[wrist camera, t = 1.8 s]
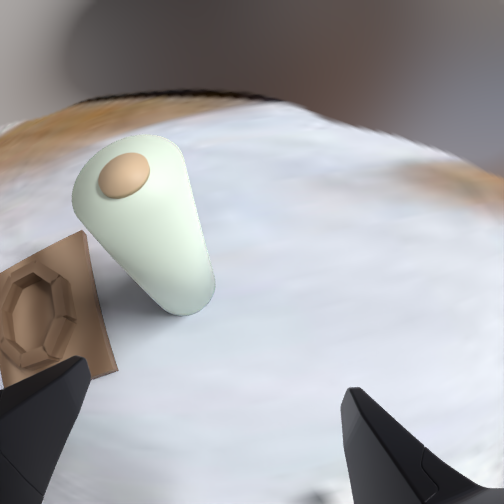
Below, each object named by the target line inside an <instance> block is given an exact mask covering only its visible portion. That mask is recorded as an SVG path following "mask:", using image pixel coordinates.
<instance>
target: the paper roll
mask: <svg viewBox="0 0 504 504" xmlns="http://www.w3.org/2000/svg"><path fill="white" fill-rule="evenodd" d="M72 206H73V209H74V212H75V214H76V216H77V217H78V219H79V220H80V221H81V222H82V223H83V225H84V226H85V227H86V228H87V229H88V231H89V232H90V233H91V234H92V235H93V236H94V237H95V239H96V240H97V241H98V242H99V243H100V244H101V245H102V246H103V248H104V249H105V250H106V251H107V252H108V253H109V254H110V255H111V256H112V258H113V259H114V260H115V261H116V262H117V263H118V264H119V265H120V266H121V267H122V268H123V269H124V270H125V271H126V272H127V274H128V275H129V276H130V277H131V278H132V279H133V280H134V281H135V282H136V283H137V284H138V285H139V286H140V287H141V288H142V289H143V290H144V291H145V292H146V293H147V294H148V295H149V296H150V297H151V298H152V299H153V300H154V301H155V302H156V303H157V304H158V305H159V306H160V307H161V308H162V309H164V310H165V311H167V312H169V313H171V314H173V315H178V316H186V315H191V314H194V313H196V312H198V311H200V310H202V309H203V308H204V307H205V306H206V305H207V304H208V303H209V301H210V300H211V298H212V296H213V294H214V290H215V277H214V273H213V269H212V266H211V262H210V259H209V255H208V251H207V248H206V244H205V240H204V237H203V233H202V229H201V225H200V221H199V218H198V214H197V210H196V206H195V202H194V198H193V194H192V190H191V186H190V182H189V178H188V174H187V170H186V165H185V161H184V158H183V155H182V153H181V151H180V149H179V148H178V147H177V146H176V145H175V144H174V143H173V142H172V141H170V140H168V139H166V138H164V137H160V136H156V135H135V136H130V137H126V138H123V139H121V140H118V141H116V142H114V143H111V144H110V145H108V146H106V147H105V148H103V149H102V150H100V151H99V152H98V153H96V154H95V155H94V156H93V157H92V158H91V159H90V160H89V161H88V162H87V163H86V164H85V166H84V167H83V168H82V170H81V171H80V173H79V175H78V177H77V179H76V181H75V184H74V187H73V191H72Z"/></svg>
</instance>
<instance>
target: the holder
mask: <svg viewBox="0 0 504 504" xmlns="http://www.w3.org/2000/svg"><path fill="white" fill-rule="evenodd" d="M74 355H78V356H81V357H84V358H85V359H86V360H87V363H88V366H89V370H90V373H91V380H92V379H95V378H98V377H101V376H104V375H107V374H110V373H113V372H116V371H118V368H117V365H116V362H115V358H114V355H113V352H112V349H111V346H110V342H109V339H108V335H107V332H106V328H105V324H104V320H103V317H102V313H101V309H100V304H99V300H98V296H97V291H96V287H95V282H94V277H93V272H92V266H91V261H90V255H89V249H88V243H87V236H86V234H85V233H84V231H83V230H81V231H79V232H77V233H75V234H72V235H70V236H68V237H66V238H64V239H62V240H60V241H58V242H56V243H54V244H52V245H51V246H49V247H47V248H45V249H43V250H41V251H39V252H37V253H35V254H33V255H32V256H30V257H28V258H26V259H24V260H22V261H21V262H19V263H17V264H15V265H13V266H12V267H10V268H8V269H6V270H5V271H3V272H1V273H0V370H1V375H2V380H3V385H4V388H6V387H8V386H10V385H12V384H15V383H17V382H19V381H21V380H23V379H25V378H28V377H30V376H32V375H34V374H36V373H38V372H40V371H43V370H45V369H47V368H49V367H51V366H53V365H55V364H57V363H60V362H62V361H64V360H66V359H68V358H70V357H72V356H74Z"/></svg>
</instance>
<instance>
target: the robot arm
mask: <svg viewBox="0 0 504 504" xmlns="http://www.w3.org/2000/svg"><path fill="white" fill-rule="evenodd" d="M90 381H91V373H90V370H89V366H88V363H87V360H86V359H85V358H84V357H81V356H78V355H74V356H72V357H70V358H68V359H66V360H64V361H62V362H60V363H57V364H55V365H53V366H51V367H49V368H47V369H45V370H43V371H40V372H38V373H36V374H34V375H32V376H30V377H28V378H25V379H23V380H21V381H19V382H17V383H15V384H12V385H10V386H8V387H6V388H4V389H3V390H2V389H1V390H0V504H41V503H42V501H43V498H44V497H43V496H44V495H45V492H46V489H47V487H48V484H49V481H50V479H51V476H52V474H53V471H54V469H55V466H56V464H57V461H58V459H59V457H60V454H61V452H62V450H63V447H64V445H65V443H66V440H67V438H68V436H69V434H70V432H71V429H72V427H73V425H74V423H75V421H76V419H77V416H78V414H79V412H80V409H81V406H82V403H83V401H84V398H85V395H86V392H87V389H88V387H89V384H90ZM341 420H342V432H343V445H344V452H345V457H346V462H347V467H348V472H349V478H350V483H351V489H352V494H353V500H354V504H504V488H486V487H482V486H480V485H478V484H476V483H474V482H473V481H471V480H470V479H468V478H467V477H465V476H463V475H462V474H460V473H459V472H457V471H456V470H454V469H453V468H452V467H450V466H449V465H447V464H446V463H445V462H443V461H442V460H441V459H439V458H438V457H437V456H436V455H435V454H433V453H432V452H431V451H430V450H429V449H428V448H427V447H424V445H423V444H422V443H421V442H420V441H419V440H417V439H416V438H415V437H414V436H413V435H412V434H411V433H410V432H408V431H407V430H406V429H405V428H404V427H403V426H402V425H401V424H400V423H398V422H397V421H396V420H395V419H394V418H393V417H392V416H391V415H390V414H389V413H387V412H386V411H385V410H384V409H383V408H382V407H381V406H380V405H379V404H378V403H376V402H375V401H374V400H373V399H372V398H371V397H370V396H369V395H368V394H367V393H366V392H365V391H363V390H362V389H361V388H360V387H350V388H348V389H347V391H346V393H345V396H344V398H343V401H342V404H341Z"/></svg>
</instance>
